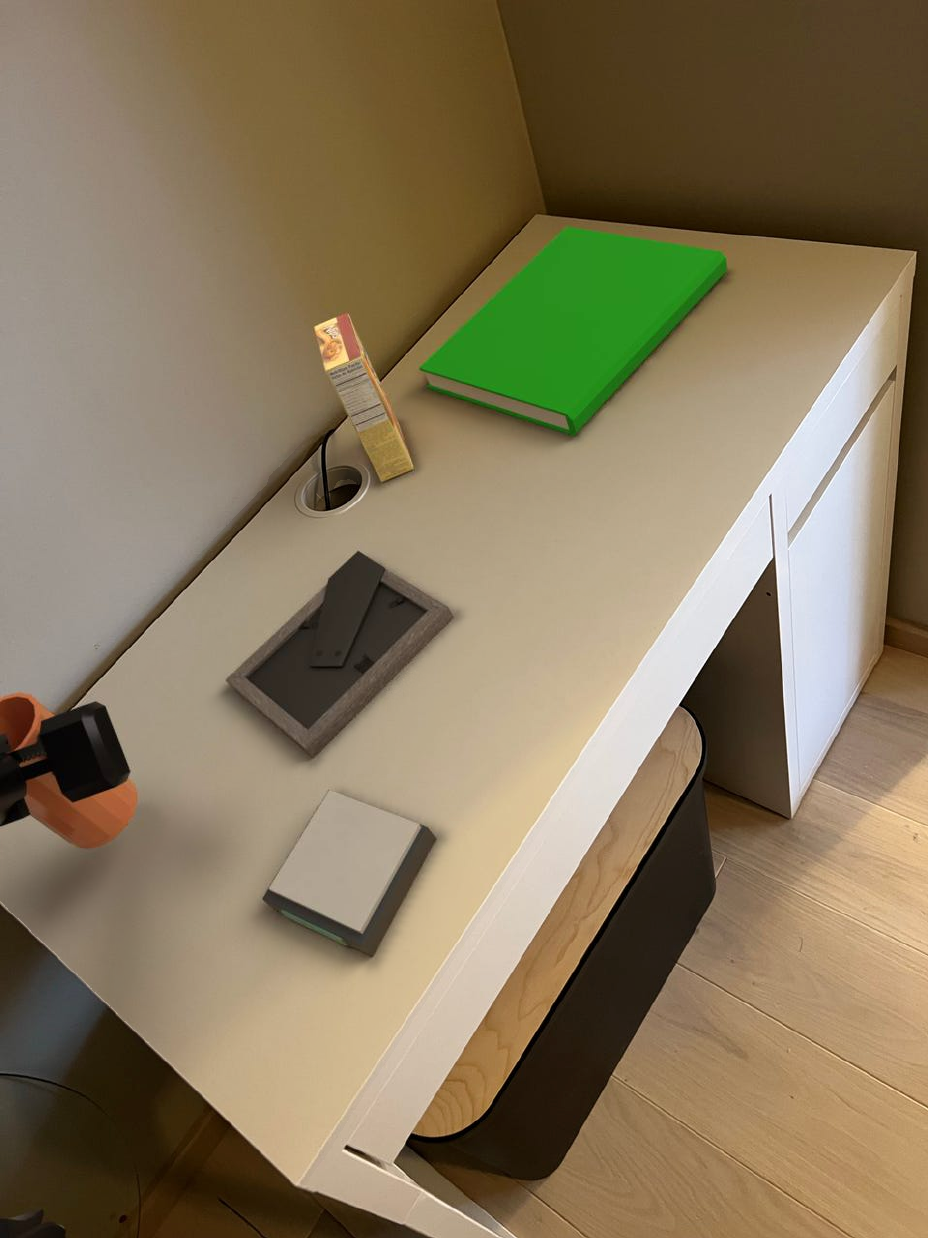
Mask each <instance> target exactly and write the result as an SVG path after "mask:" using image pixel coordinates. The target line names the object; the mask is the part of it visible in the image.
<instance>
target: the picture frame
mask: <svg viewBox="0 0 928 1238" xmlns="http://www.w3.org/2000/svg"><path fill="white" fill-rule="evenodd" d="M453 618H454V616H453V614H452V612H451V610H450V607H449V606H447V605H446V604H444V603H443V602H441V601H439V600H438V599H436V598H434V597H433V596H431V595H430V594H428V593H426V592H425V591H423V590H421V589H419V588H418V587H417V586H414V585H412V584H411V583H410V582H408V581H406V580H404V579H403V578H401V577H400V576H399V575H397V574H395V573H393V572H391V571H390V570H388V569H386V567H385V566H383V565H382V564H380V563H378V562H377V561H375V560H374V559H373V558H371V557H369V556H368V555H367V554H366V555H365V553H363V552H361V551H360V550H357V551H356V552H355V553H354V554H353V555H352V556H350V557H349V558H348V559H347V561H345V562H344V563H343V564H342V565H341V566H340V567H339V568H338V569H337V570H336V571H334V572H333V574H331V576H329V577H328V578H327V581H326V585H324V586H323V587H322V588H321V589H320V590H319V591H318V592H317V593H316V594H315V595H314V596H313V597H311V599H310V600H308V601H307V602H306V604H304V605H303V606H302V607H301V608H299V610H297V612H295V614H293V616H291V617H290V619H288V620H287V621H286V622H285V623H284V624H283V625H282V626H281V627H279V629H278V630H277V631H276V632H275V633H273V634H272V635H271V636H270V637H269V638H268V639H267V640H266V641H265V642H264V643H263V644H262V645H261V646H259V647H258V648H257V649H256V650H255V651H254V652H253V653H252V654H251V655H250V656H249V657H248V658H247V659H246V660H245V661H243V663H241V664H240V665H239V666H238V667H237V668H236V669H235V670H233V672H232V673H231V674H229V676H228V677H226V678H225V681H226V683H227V684H229V686H230V687H231V688H232V689H233V690H234V691H235V692H236V693H238V695H240V696H241V697H242V698H243V699H244V700H246V701H247V702H248V703H249V704H250V705H251V706H253V708H255V709H256V710H257V711H258V712H259V713H261V715H262V716H264V718H266V719H268V721H270V723H272V724H273V725H274V726H275V727H277V728H278V729H279V730H280V731H281V732H283V733H284V734H285V735H286V736H287V737H288V738H290V740H291V741H293V742H294V743H295V744H296V745H298V746H299V747H300V748H301V749H302V750H303V751H304V752H305V753H307V754H308V755H309V756H310V757H311V758H313V759H314V758H315V757H317V756H318V754H319V753H320V752H321V751H322V750H324V748H325V747H327V745H329V743H330V742H331V741H332V740H333V739H334V738H336V736H338V734H339V733H340V732H341V731H342V730H343V729H344V728H345V727H346V726H348V724H349V723H350V722H351V721H352V720H353V719H354V718H356V716H357V715H358V714H359V713H360V712H361V711H362V710H363V709H364V708H365V707H366V706H367V705H368V704H369V703H370V702H371V701H372V700H373V699H374V698H375V697H376V696H377V695H378V694H379V693H380V692H381V691H382V690H383V689H384V688H385V687H386V686H387V685H388V684H389V683H390V682H391V681H392V680H393V679H394V678H395V677H396V676H397V675H398V674H399V673H400V672H401V671H402V670H403V669H404V668H405V667H406V666H407V665H408V664H409V663H410V662H411V660H413V659H414V657H416V656H417V654H419V652H421V650H422V649H424V648H425V647H426V645H427V644H429V643H430V642H431V641H432V640H433V638H435V636H437V634H439V633H440V632H441V631H442V629H443V628H445V626H446V625H448V623H450V621H452V620H453Z"/></svg>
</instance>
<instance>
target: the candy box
mask: <svg viewBox="0 0 928 1238" xmlns="http://www.w3.org/2000/svg"><path fill="white" fill-rule="evenodd" d="M313 331H314V336H315V339H316V343H317V347H318V351H319V354H320V358H321V361H322V365H323V368H324V372H325V374H326V376H327V378H328V379H329V381H330V383H331V385H332V387H333V389H334V391H335V392H336V395H337V397H338V398H339V401H340V403H341V405H342V406H343V409H344V411H345V413H346V415H347V417H348V418H349V419H348V420H349V421H350V423H351V425H352V427H353V429H354V430H355V432H356V434H357V436H358V439H359V440H360V442H361V445H362V446H363V447H362V448H363V449H364V451H365V452H366V455H367V456H368V459H369V461H370V462H371V464H372V467H373V468H374V471H375V473H376V474H377V477H378V478H379V480H380V482H381V483H384V482H386V481H389V480H391V479H393V478H395V477H398V476H401V475H403V474H405V473H408V472H410V471H413V470H414V465H413V462H412V458H411V456H410V452H409V448H408V446H407V443H406V439H405V437H404V434H403V431H402V428H401V425H400V423H399V421H398V419H397V417H396V414H395V413H394V411H393V408H392V406H391V404H390V402H389V398H388V397H387V395H386V392H385V390H384V388H383V386H382V384H381V381H380V379H379V377H378V375H377V373H376V371H375V368H374V366H373V364H372V362H371V360H370V357H369V355H368V353H367V351H366V349H365V347H364V344H363V342H362V340H361V338H360V336H359V334H358V332H357V329H356V327H355V325H354V323H353V321H352V319H351V315H350V314H349V312H346V313H343V314H340V315H338V316H336V317H333V318H331V319H329V320H326V321H324V322H322V323H321V322H320V323H319V324H317V325H315V326H314V327H313Z"/></svg>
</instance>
